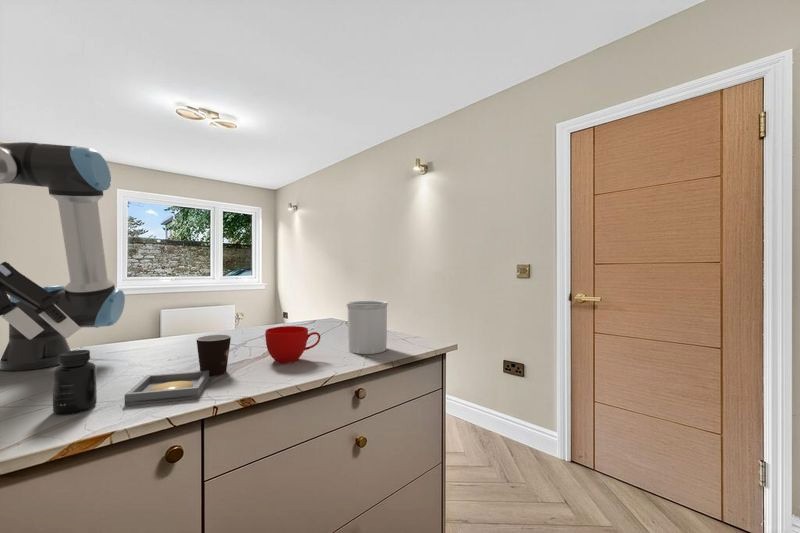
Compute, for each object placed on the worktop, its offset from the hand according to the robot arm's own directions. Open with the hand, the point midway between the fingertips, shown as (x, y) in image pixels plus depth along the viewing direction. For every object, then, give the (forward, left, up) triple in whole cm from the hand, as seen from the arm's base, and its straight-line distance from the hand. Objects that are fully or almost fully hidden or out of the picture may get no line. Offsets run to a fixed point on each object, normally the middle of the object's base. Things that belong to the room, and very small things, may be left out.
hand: (54, 334), depth 72 cm
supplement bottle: (-2, +3, -16) cm, 17 cm away
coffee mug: (-22, +27, -16) cm, 38 cm away
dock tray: (-8, +19, -16) cm, 26 cm away
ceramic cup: (-28, +48, -16) cm, 58 cm away
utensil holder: (-35, +74, -16) cm, 83 cm away
